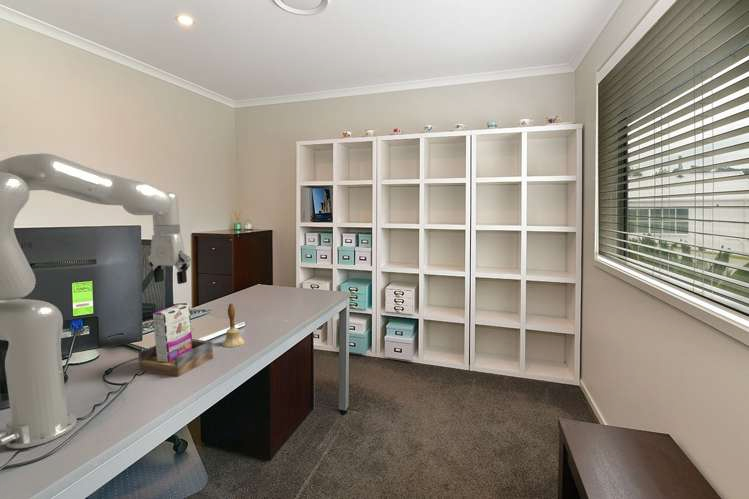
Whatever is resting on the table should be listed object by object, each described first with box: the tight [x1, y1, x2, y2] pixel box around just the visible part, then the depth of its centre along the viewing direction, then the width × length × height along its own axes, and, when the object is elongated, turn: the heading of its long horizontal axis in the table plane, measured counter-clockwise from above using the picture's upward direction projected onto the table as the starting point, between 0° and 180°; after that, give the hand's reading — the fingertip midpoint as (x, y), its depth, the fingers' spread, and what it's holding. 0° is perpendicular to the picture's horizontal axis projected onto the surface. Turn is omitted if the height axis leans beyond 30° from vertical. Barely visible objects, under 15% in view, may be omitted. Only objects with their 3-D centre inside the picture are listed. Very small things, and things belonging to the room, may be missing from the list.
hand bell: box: [221, 303, 246, 348], centre depth 142 cm, size 8×8×16 cm
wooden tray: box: [138, 338, 214, 377], centre depth 124 cm, size 15×16×6 cm
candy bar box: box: [152, 303, 193, 363], centre depth 122 cm, size 11×5×16 cm, turn 166°
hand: (170, 282), depth 121 cm, fingers open, 9 cm apart
